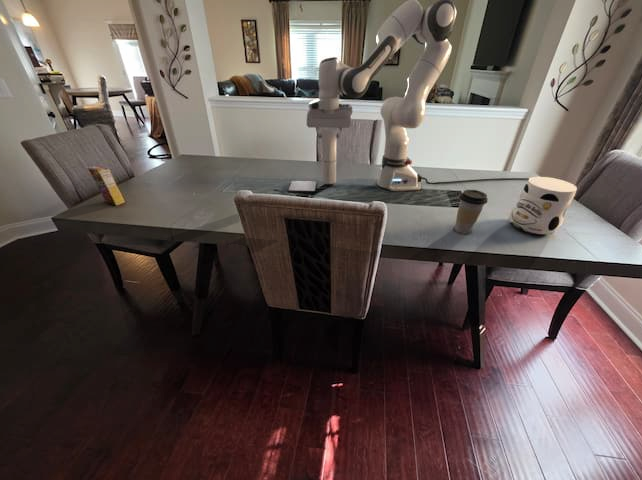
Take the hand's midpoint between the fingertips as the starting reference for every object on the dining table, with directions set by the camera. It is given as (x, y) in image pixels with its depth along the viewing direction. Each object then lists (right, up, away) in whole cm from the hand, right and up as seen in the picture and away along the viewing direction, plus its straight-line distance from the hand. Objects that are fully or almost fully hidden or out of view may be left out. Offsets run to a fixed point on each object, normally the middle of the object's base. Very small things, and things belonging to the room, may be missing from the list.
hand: (328, 137), depth 131 cm
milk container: (+81, -45, -19) cm, 94 cm away
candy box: (-97, -31, -5) cm, 102 cm away
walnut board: (-13, -20, +11) cm, 27 cm away
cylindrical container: (0, -16, +13) cm, 21 cm away
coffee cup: (+52, -46, -21) cm, 73 cm away
